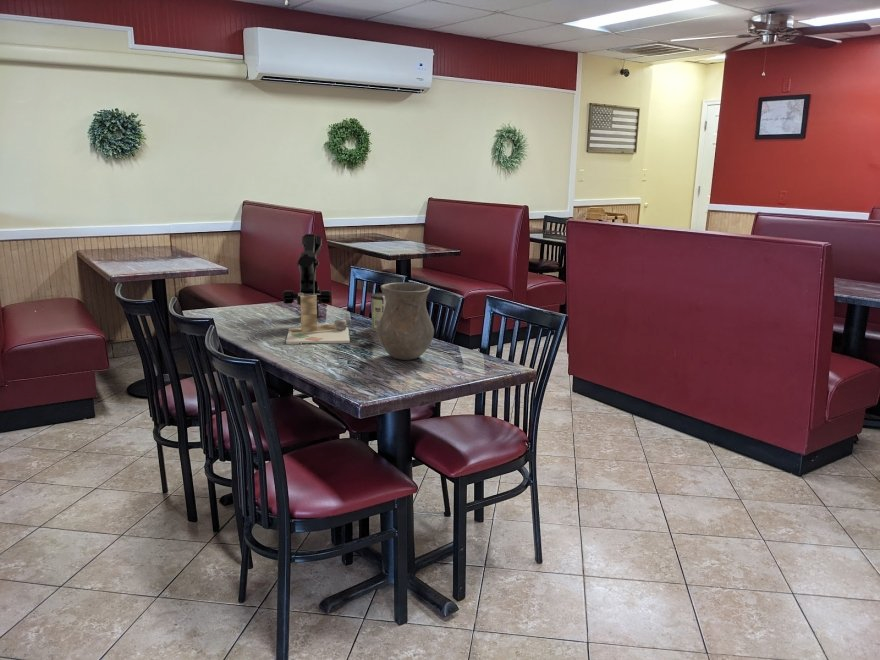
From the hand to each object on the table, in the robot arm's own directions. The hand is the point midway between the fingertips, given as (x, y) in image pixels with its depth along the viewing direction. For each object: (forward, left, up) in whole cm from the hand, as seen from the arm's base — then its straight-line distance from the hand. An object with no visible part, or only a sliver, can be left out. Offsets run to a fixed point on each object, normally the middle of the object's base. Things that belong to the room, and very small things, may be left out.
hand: (307, 314), depth 272 cm
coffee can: (+18, +25, -7) cm, 31 cm away
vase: (+54, 0, -7) cm, 54 cm away
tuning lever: (+7, 0, -5) cm, 9 cm away
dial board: (+10, -2, -7) cm, 12 cm away
